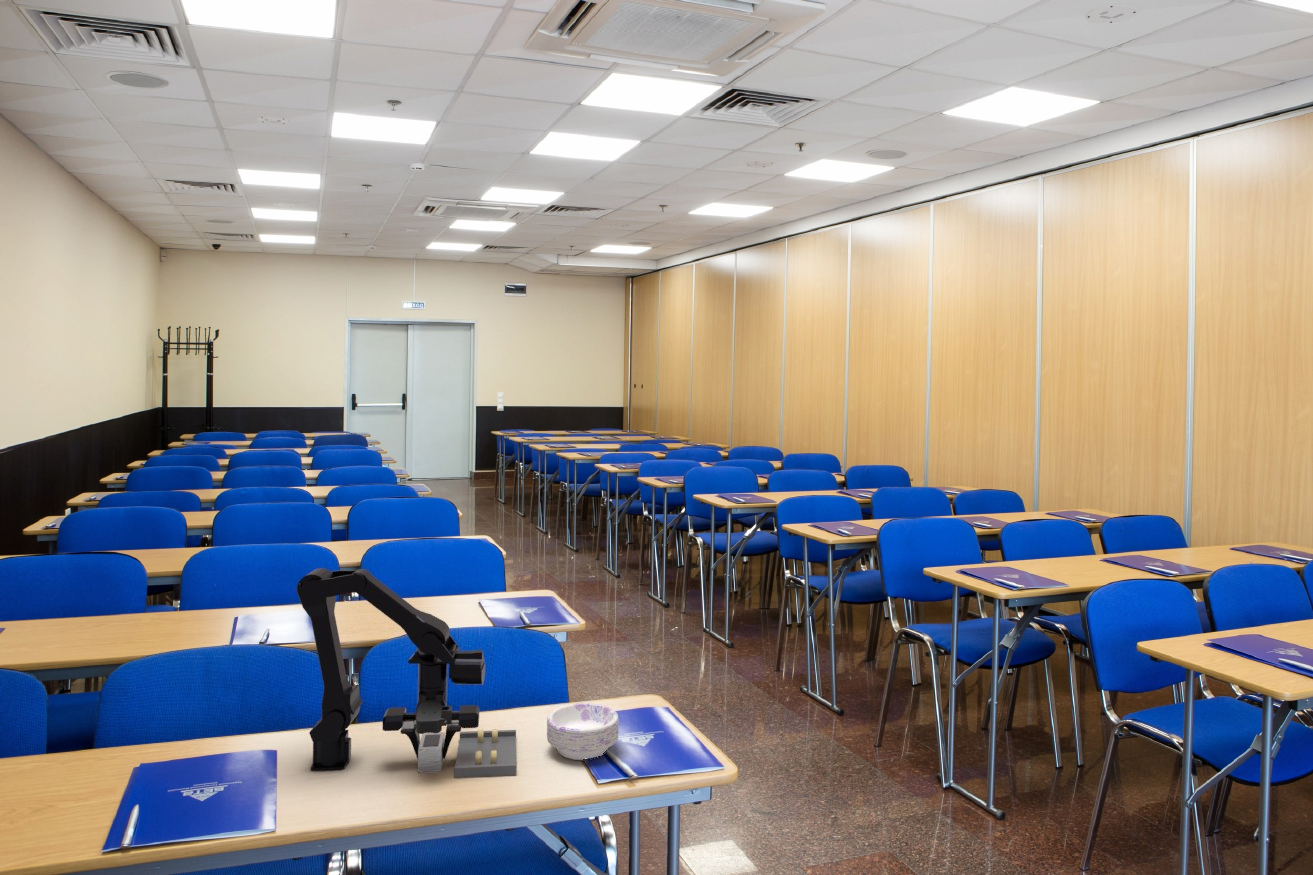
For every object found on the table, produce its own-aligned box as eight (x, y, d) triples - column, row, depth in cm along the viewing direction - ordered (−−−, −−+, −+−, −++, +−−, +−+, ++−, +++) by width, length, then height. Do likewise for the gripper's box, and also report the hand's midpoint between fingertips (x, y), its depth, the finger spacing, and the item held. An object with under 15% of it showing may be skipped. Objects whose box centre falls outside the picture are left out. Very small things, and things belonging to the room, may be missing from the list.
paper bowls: (535, 761, 178) (536, 724, 177) (560, 733, 193) (561, 698, 192) (606, 771, 174) (607, 733, 174) (626, 742, 189) (627, 706, 189)
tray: (454, 777, 169) (454, 760, 169) (459, 740, 187) (460, 724, 187) (515, 775, 171) (516, 758, 171) (515, 738, 189) (516, 723, 189)
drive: (417, 773, 171) (418, 748, 171) (422, 756, 179) (422, 732, 179) (441, 772, 172) (441, 747, 172) (444, 755, 180) (444, 731, 179)
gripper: (378, 699, 165) (377, 778, 166) (477, 696, 168) (476, 774, 169) (387, 679, 176) (386, 754, 177) (480, 677, 179) (478, 750, 180)
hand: (431, 758), depth 175 cm, fingers open, 5 cm apart
